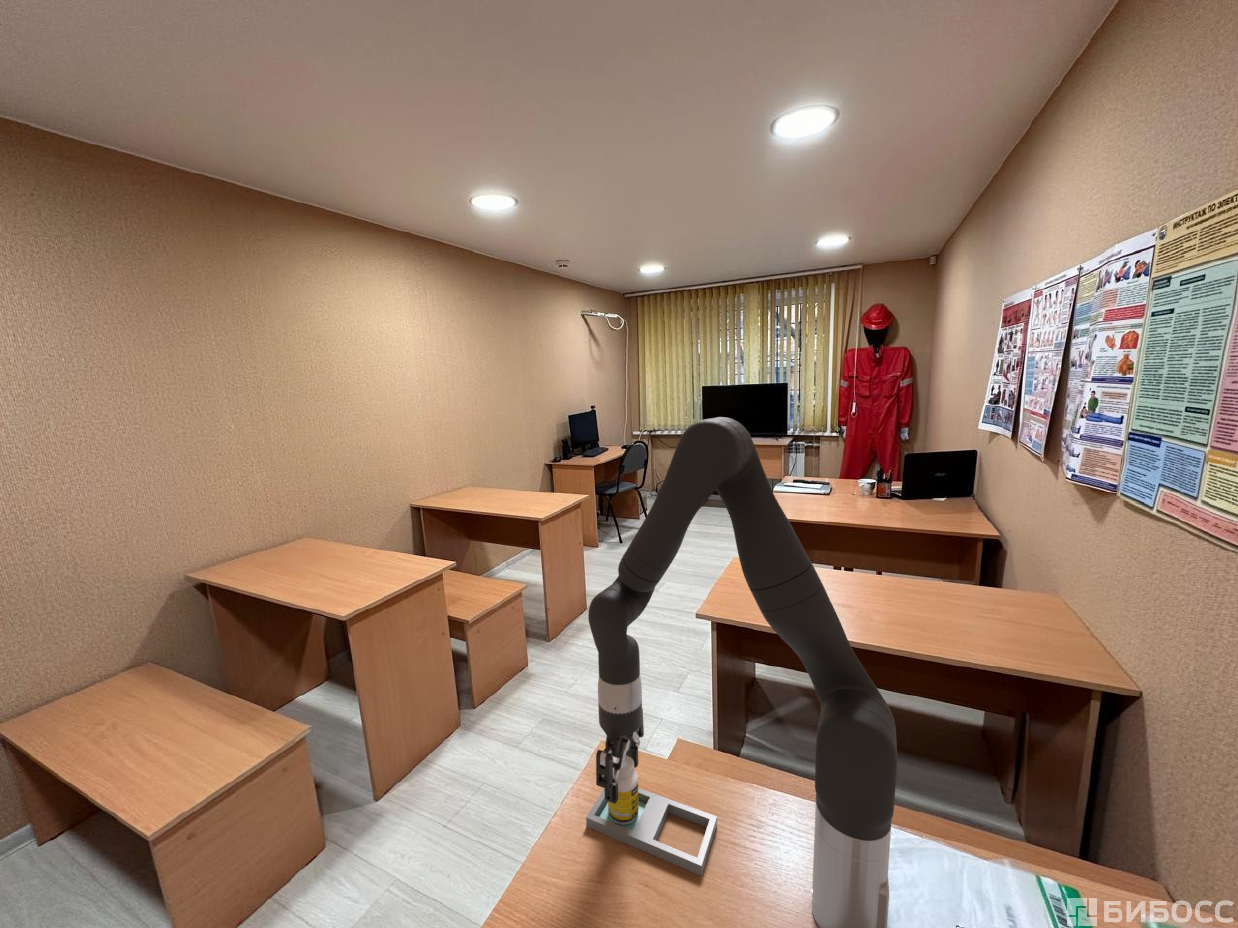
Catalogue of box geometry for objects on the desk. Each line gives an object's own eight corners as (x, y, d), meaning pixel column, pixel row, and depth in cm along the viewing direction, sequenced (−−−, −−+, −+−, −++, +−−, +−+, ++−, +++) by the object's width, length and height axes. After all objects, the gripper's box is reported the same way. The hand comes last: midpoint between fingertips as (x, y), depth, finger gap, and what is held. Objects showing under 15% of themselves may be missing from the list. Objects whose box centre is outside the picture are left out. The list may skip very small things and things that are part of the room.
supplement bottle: (636, 828, 81) (635, 776, 80) (605, 823, 82) (604, 772, 81) (640, 802, 86) (639, 753, 85) (611, 798, 87) (610, 749, 86)
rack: (716, 825, 82) (717, 816, 81) (701, 875, 73) (701, 865, 73) (611, 785, 90) (610, 777, 90) (586, 826, 82) (586, 817, 82)
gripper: (621, 729, 73) (624, 822, 75) (655, 679, 86) (657, 760, 88) (580, 716, 76) (583, 806, 79) (618, 670, 89) (620, 748, 91)
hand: (622, 781), depth 83 cm, fingers open, 8 cm apart
